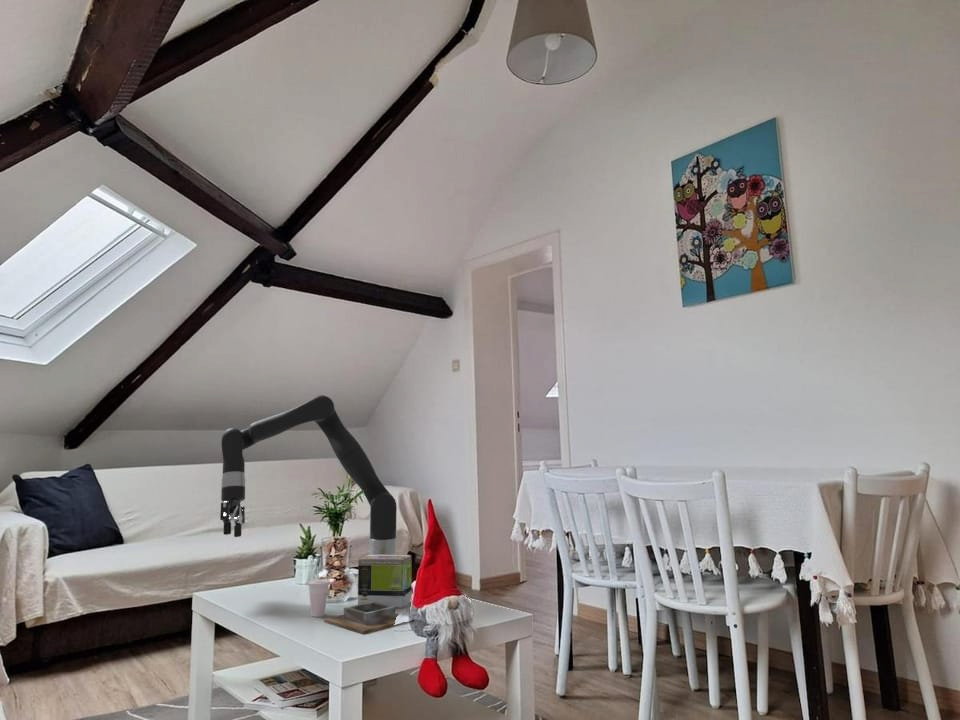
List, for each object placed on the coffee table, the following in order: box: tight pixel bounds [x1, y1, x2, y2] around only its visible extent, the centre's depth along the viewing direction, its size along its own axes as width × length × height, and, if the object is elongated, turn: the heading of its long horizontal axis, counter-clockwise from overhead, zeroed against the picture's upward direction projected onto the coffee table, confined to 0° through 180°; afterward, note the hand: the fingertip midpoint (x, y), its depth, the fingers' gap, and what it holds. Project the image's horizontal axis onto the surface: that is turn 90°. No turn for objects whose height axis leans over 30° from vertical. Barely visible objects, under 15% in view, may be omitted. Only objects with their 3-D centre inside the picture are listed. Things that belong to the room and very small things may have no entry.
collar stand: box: [324, 601, 400, 635], centre depth 176 cm, size 18×18×4 cm
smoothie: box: [307, 565, 331, 618], centre depth 184 cm, size 6×6×14 cm
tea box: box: [357, 554, 413, 609], centre depth 197 cm, size 15×10×15 cm, turn 79°
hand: (232, 535), depth 204 cm, fingers open, 8 cm apart
